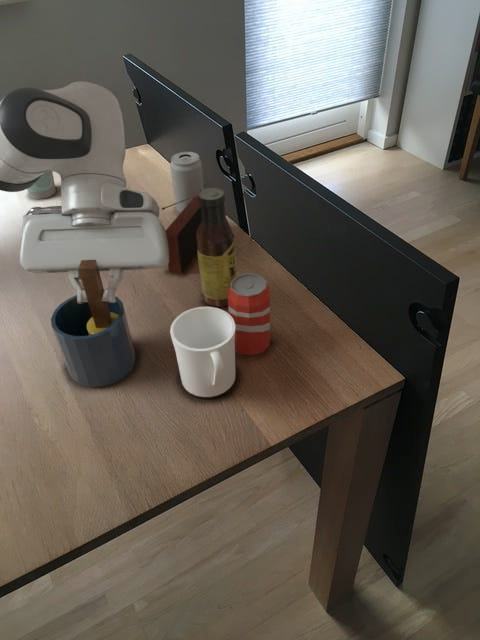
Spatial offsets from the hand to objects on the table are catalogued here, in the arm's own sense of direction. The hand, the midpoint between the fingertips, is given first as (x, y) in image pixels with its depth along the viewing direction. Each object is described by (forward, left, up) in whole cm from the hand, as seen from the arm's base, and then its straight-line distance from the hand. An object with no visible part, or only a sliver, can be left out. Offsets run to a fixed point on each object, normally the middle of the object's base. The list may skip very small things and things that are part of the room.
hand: (96, 303), depth 74 cm
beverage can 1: (+9, +46, -13) cm, 48 cm away
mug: (+15, -4, -13) cm, 20 cm away
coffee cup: (-26, +56, -13) cm, 63 cm away
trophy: (0, +1, -8) cm, 8 cm away
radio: (+10, +30, -13) cm, 34 cm away
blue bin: (-2, +1, -12) cm, 13 cm away
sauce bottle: (+16, +16, -13) cm, 26 cm away
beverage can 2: (+21, +4, -13) cm, 25 cm away
